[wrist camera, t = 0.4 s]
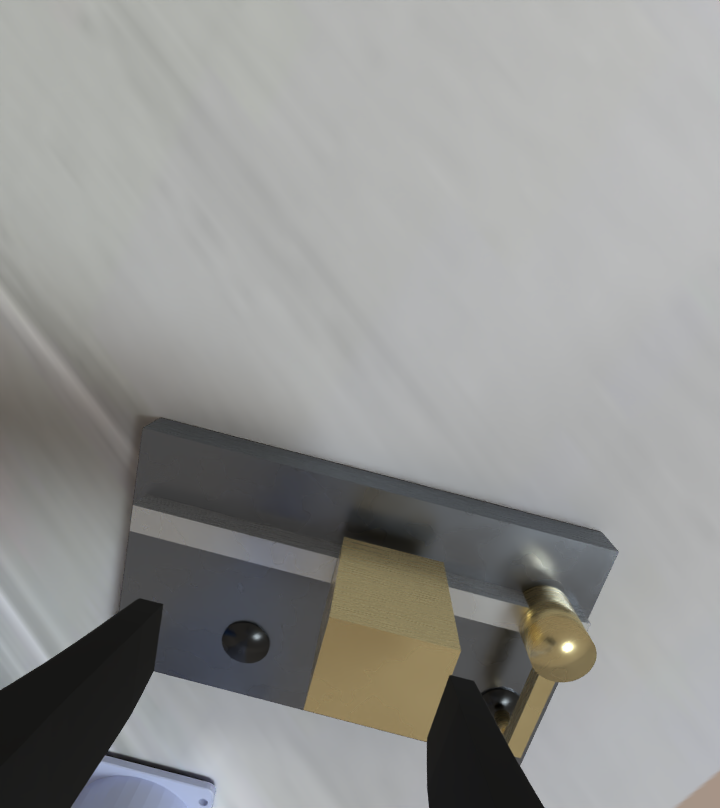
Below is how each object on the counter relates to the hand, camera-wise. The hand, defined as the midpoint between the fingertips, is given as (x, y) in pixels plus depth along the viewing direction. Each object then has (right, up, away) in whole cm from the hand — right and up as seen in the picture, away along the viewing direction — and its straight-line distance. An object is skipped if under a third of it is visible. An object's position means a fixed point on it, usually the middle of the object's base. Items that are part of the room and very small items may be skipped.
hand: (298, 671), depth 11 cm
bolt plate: (+1, -2, +10) cm, 11 cm away
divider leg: (+2, -3, +8) cm, 9 cm away
